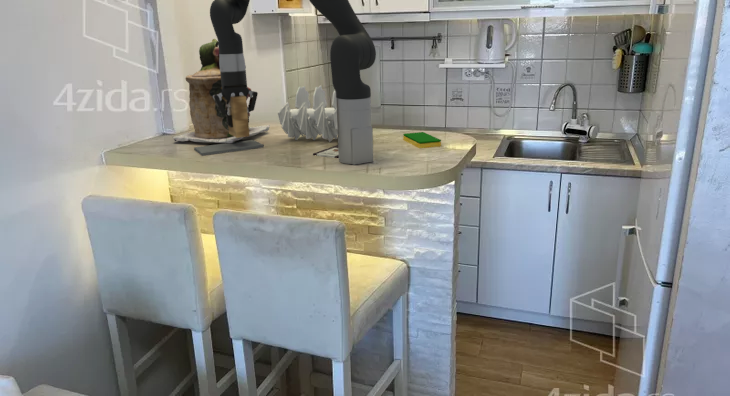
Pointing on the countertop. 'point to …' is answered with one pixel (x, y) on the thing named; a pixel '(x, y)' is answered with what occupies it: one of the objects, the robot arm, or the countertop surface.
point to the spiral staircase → (310, 116)
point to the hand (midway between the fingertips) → (238, 125)
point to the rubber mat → (228, 147)
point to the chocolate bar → (329, 152)
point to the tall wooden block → (239, 117)
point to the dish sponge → (421, 140)
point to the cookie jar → (209, 102)
